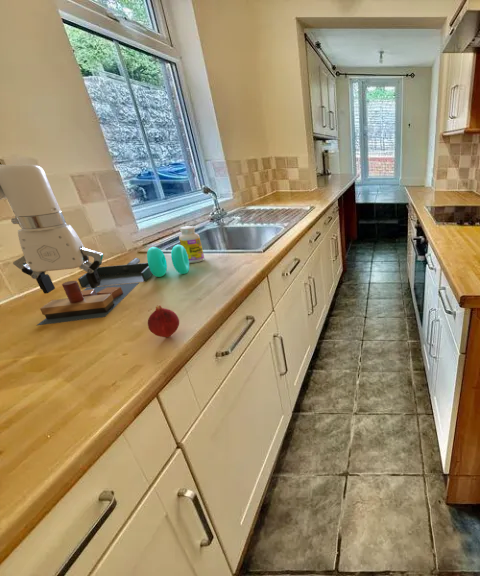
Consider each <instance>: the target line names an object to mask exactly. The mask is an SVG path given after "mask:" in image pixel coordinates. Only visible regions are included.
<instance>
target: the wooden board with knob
mask: <svg viewBox="0 0 480 576" xmlns="http://www.w3.org/2000/svg"><path fill="white" fill-rule="evenodd" d="M79 285H80V284H79V282H78V281H77V280H69V281H65V282H63V283H61V286H62V288H63V290H64V292H65V295H66V297H67V298H58V299H52V300H50V301H49V302H47V303H45V304H44V305H43V306H41V307H39V310H40V313H41V314H42V315H43V316H44V317H45V319H55V318H64V317H72V316H80V315H89V314H97V313H105V312H107V311H108V310H110V309H111V308H112V307H113V306H114V303H113V297H112V294H103V295H94V296H85V297H83V295H82V292H81V291H82V290H81V288H80V286H79Z"/></svg>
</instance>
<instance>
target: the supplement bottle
mask: <svg viewBox="0 0 480 576" xmlns="http://www.w3.org/2000/svg"><path fill="white" fill-rule="evenodd" d="M179 231H180V233H181V234H179V236H178V240H179V245H182V246H183V247H184V248H185V250H186V252H187V255H188V260H189V264H195V263H199V262H202V261H204V260H205V255H204V250H203V245H202V241H201V237H200V235H199V233H197V232H196V228H195V226H193V225H186V226H185V225H184V226H181V227H179Z"/></svg>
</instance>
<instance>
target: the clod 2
mask: <svg viewBox="0 0 480 576" xmlns="http://www.w3.org/2000/svg"><path fill="white" fill-rule="evenodd" d="M96 294H97V295H103V294H112V297H113V299H114V298H116V297H118V296H119V295H121V294H123V292H122V289H121V287H107V288H105V289H103V290H101V291H99V292H97V293H96Z"/></svg>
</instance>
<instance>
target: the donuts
mask: <svg viewBox="0 0 480 576" xmlns="http://www.w3.org/2000/svg"><path fill="white" fill-rule="evenodd" d="M170 256H171V263H172V265H173V268H174V270H175V271H176V272H177V273H179V274H182V275H185V274H187V273H188V272H189V271H190V263H189V260H188V255H187V252H186V250H185V248H184V247H183V246H182V245H181V244H175V245H174V246H173V247H172V249H171V252H170ZM146 261H147V263H148V265H149V268H150V271H151V272H152V276H154V277H156V278H162V277H163V276H165V274H166V273H167V271H168V263H167V258H166V255H165V253H164V252H163V250H162V249H161V248H159V247H157V246H152V247H149V248H148V249H147V252H146Z"/></svg>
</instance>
